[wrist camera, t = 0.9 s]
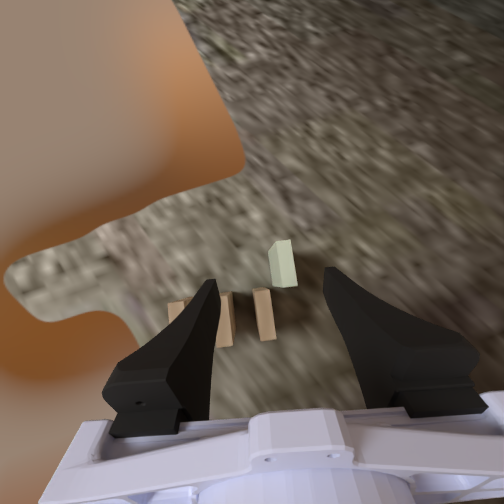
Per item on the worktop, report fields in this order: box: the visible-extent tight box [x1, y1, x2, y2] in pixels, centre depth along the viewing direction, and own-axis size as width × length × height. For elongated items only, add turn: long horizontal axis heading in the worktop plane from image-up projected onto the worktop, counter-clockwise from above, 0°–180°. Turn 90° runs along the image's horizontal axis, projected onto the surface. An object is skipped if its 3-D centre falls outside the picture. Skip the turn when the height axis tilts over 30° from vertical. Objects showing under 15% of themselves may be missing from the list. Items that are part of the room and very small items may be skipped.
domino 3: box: [252, 287, 276, 341], centre depth 25 cm, size 2×5×8 cm, turn 7°
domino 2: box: [216, 291, 236, 348], centre depth 25 cm, size 2×5×8 cm, turn 7°
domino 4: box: [268, 240, 298, 288], centre depth 26 cm, size 2×5×8 cm, turn 7°
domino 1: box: [168, 297, 193, 324], centre depth 25 cm, size 2×5×8 cm, turn 7°
